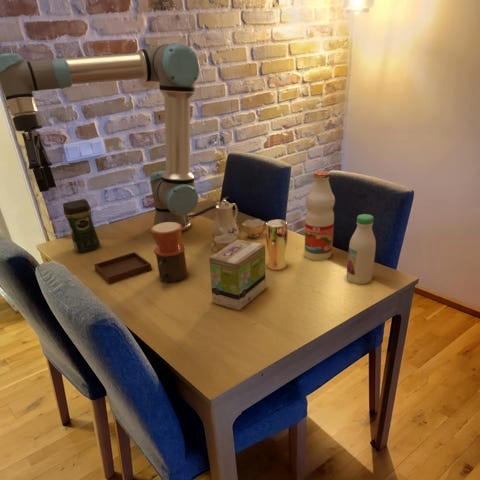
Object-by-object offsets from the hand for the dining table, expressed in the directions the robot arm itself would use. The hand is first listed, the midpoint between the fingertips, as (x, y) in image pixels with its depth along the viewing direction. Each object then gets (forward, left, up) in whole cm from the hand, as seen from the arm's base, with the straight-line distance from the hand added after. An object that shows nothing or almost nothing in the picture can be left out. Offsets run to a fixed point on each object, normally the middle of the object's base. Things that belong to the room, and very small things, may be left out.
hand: (48, 189), depth 136 cm
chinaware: (-56, +18, -29) cm, 65 cm away
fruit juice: (-71, +48, -29) cm, 90 cm away
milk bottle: (-68, +69, -29) cm, 101 cm away
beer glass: (-55, +45, -29) cm, 77 cm away
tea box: (-34, +53, -29) cm, 69 cm away
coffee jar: (-11, -16, -29) cm, 35 cm away
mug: (-24, +29, -28) cm, 47 cm away
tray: (-14, +12, -28) cm, 34 cm away
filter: (-25, +28, -20) cm, 43 cm away
